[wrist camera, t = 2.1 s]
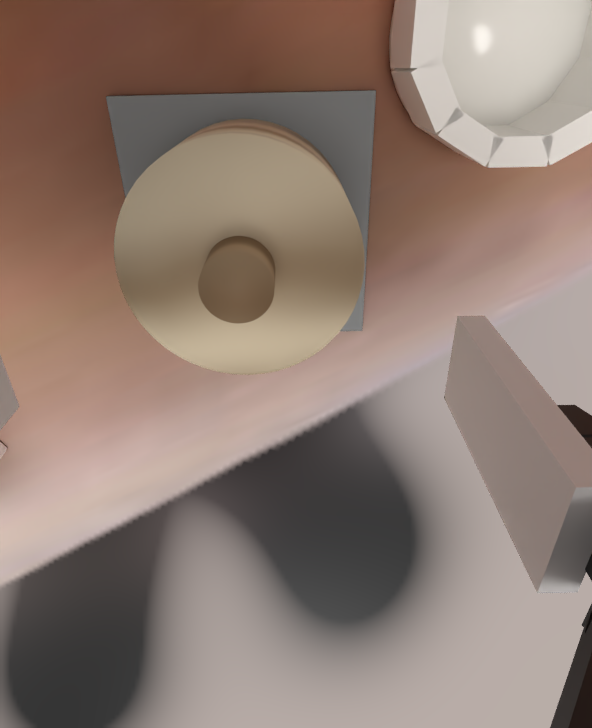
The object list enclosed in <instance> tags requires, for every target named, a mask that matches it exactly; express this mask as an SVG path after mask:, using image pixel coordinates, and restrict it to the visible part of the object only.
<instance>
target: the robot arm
mask: <svg viewBox="0 0 592 728" xmlns="http://www.w3.org/2000/svg"><path fill="white" fill-rule="evenodd" d="M444 398H445V400H446V402H447V405H448V407H449V409H450V411H451V413H452V415H453V417H454V419H455V421H456V423H457V426H458V428H459V430H460V432H461V434H462V436H463V438H464V440H465V442H466V445H467V447H468V449H469V451H470V453H471V455H472V457H473V459H474V461H475V463H476V466H477V468H478V470H479V472H480V474H481V476H482V478H483V480H484V482H485V484H486V487H487V488H488V491H489V493H490V495H491V497H492V499H493V501H494V503H495V505H496V507H497V510H498V512H499V514H500V516H501V518H502V520H503V522H504V524H505V526H506V528H507V530H508V533H509V535H510V537H511V539H512V541H513V543H514V545H515V547H516V549H517V552H518V554H519V556H520V558H521V560H522V562H523V564H524V566H525V568H526V570H527V572H528V574H529V577H530V579H531V581H532V583H533V585H534V587H535V589H536V591H537V593H563V592H564V593H566V592H578V589H579V587H580V585H581V582H582V580H583V578H584V575H585V573H586V572H587V574H588V575H589V577H590V579H591V580H592V416H591V415H590V414H588V413H587V412H585V411H583V410H582V409H580V408H579V407H577V406H576V405H556V403H555V402H554V401H553V400H552V399H551V397H550V396H549V395H548V394H547V392H546V391H545V390H544V389H543V387H542V386H541V385H540V384H539V382H538V381H537V380H536V379H535V377H534V376H533V375H532V374H531V373H530V371H529V370H528V369H527V368H526V366H525V365H524V364H523V363H522V361H521V360H520V359H519V358H518V356H517V355H516V354H515V353H514V351H513V350H512V349H511V348H510V347H509V345H508V344H507V343H506V342H505V340H504V339H503V338H502V337H501V335H500V334H499V333H498V332H497V330H496V329H495V328H494V327H493V326H492V324H491V323H490V322H489V321H488V319H487V318H486V317H485V316H457V322H456V328H455V334H454V340H453V346H452V353H451V359H450V365H449V371H448V377H447V384H446V390H445V396H444ZM18 408H19V404H18V401H17V399H16V396H15V393H14V391H13V388H12V385H11V382H10V380H9V377H8V374H7V372H6V369H5V366H4V364H3V361H2V358H1V355H0V430H1V429H2V427H3V426H4V425H5V424H6V423H7V421H8V420H9V419H10V418H11V416H12V415H13V414H14V413H15V412H16V410H17V409H18ZM582 626H583V627H584V629H583V632H582V635H581V638H580V641H579V644H578V647H577V650H576V653H575V656H574V659H573V662H572V665H571V668H570V671H569V674H568V677H567V679H566V682H565V685H564V688H563V691H562V695H561V697H560V700H559V703H558V706H557V709H556V712H555V715H554V718H553V721H552V724H551V727H550V728H592V604H591V606H590V608H589V611H588V613H587V615H586V617H585V619H584V621H583V623H582Z"/></svg>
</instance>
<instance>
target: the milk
mask: <svg viewBox="0 0 592 728" xmlns="http://www.w3.org/2000/svg"><path fill="white" fill-rule="evenodd" d="M6 450H7V447H6V446H5V445H4V444H2V443H1V442H0V459H1V457H2V456H3V455H4V453H5V452H6Z"/></svg>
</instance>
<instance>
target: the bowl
mask: <svg viewBox="0 0 592 728" xmlns="http://www.w3.org/2000/svg"><path fill="white" fill-rule="evenodd" d="M389 57H390V68H391V73H392V77H393V81H394V85H395V87H396V90H397V93H398V96H399V98H400V100H401V102H402V104H403V106H404V107H405V109H406V110H407V112H408V113H409V115H410V118H411V120H412V122H413V123H414V124H415V126H417V127H418V128H420V129H421V130H423V131H424V132H426V133H427V134H429V135H430V136H432V137H434V138H435V139H437V140H438V141H440V142H441V143H443V144H444V145H446V146H447V147H449V148H450V149H452V150H453V151H455V152H457V153H459V154H461V155H463V156H465V157H467V158H469V159H471V160H473V161H475V162H476V163H478V164H480V165H482V166H484V167H485V166H486V167H488V168H496V167H540V166H547V164H548V165H552V164H554V163H555V162H557V161H559V160H561V159H562V158H564V157H566V156H568V155H570V154H571V153H573V152H575V151H577V150H579V149H580V148H582V147H584V146H586V145H588V144H589V143H591V142H592V0H396V1H395V5H394V10H393V15H392V19H391V26H390V35H389Z"/></svg>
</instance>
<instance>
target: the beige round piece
mask: <svg viewBox="0 0 592 728" xmlns="http://www.w3.org/2000/svg"><path fill="white" fill-rule="evenodd" d="M114 259H115V266H116V273H117V276H118V280H119V283H120V287H121V290H122V292H123V294H124V297H125V299H126V301H127V303H128V305H129V307H130V308H131V310H132V312H133V313H134V315H135V317H136V318H137V319H138V321H139V322H140V323H141V324H142V326H143V327H144V328H145V329H146V330H147V331H148V332H149V334H150V335H151V336H152V337H153V338H154V339H155V340H157V341H158V342H159V343H160V344H161V345H163V346H164V347H165V348H166V349H168V350H169V351H171V352H172V353H174V354H175V355H177V356H179V357H180V358H182V359H184V360H186V361H188V362H190V363H192V364H195V365H198V366H200V367H203V368H206V369H209V370H213V371H217V372H222V373H229V374H240V375H253V374H264V373H269V372H274V371H279V370H282V369H285V368H288V367H291V366H293V365H296V364H298V363H300V362H302V361H304V360H306V359H308V358H309V357H311V356H313V355H314V354H316V353H317V352H319V351H320V350H321V349H322V348H324V347H325V346H326V345H327V344H328V343H329V342H330V341H331V340H332V339H333V338H334V337H335V336H336V335H337V334H338V333H339V332H340V330H341V329H342V328H343V326H344V325H345V324H346V322H347V321H348V319H349V317H350V315H351V314H352V312H353V310H354V308H355V305H356V303H357V300H358V298H359V295H360V291H361V287H362V283H363V276H364V268H365V261H364V246H363V239H362V234H361V230H360V227H359V224H358V220H357V218H356V216H355V213H354V211H353V209H352V207H351V204H350V202H349V200H348V198H347V196H346V194H345V191H344V189H343V187H342V185H341V183H340V181H339V179H338V176H337V174H336V173H335V171H334V169H333V168H332V166H331V165H330V163H329V162H328V160H327V159H326V158H325V157H324V156H323V154H322V153H321V152H320V151H319V150H318V149H317V148H316V147H315V146H314V145H313V144H312V143H310V142H309V141H308V140H306V139H305V138H304V137H302V136H301V135H299V134H298V133H296V132H294V131H292V130H290V129H288V128H286V127H284V126H281V125H278V124H275V123H272V122H268V121H263V120H258V119H233V120H226V121H222V122H218V123H214V124H212V125H210V126H207V127H205V128H202V129H200V130H199V131H197V132H195V133H194V134H192V135H190V136H189V137H188V138H186V139H185V140H183V141H182V142H181V143H179V144H178V145H176V146H175V147H174V148H172V149H171V150H169V151H168V152H167V153H165V154H164V155H162V156H161V157H160V158H159V159H157V160H156V161H155V162H154V163H153V164H151V165H150V166H149V167H148V168H147V169H146V170H145V171H144V172H143V173H142V175H141V176H140V177H139V178H138V179H137V180H136V182H135V183H134V185H133V186H132V188H131V190H130V191H129V193H128V194H127V196H126V199H125V201H124V203H123V205H122V207H121V210H120V213H119V217H118V220H117V224H116V230H115V238H114Z"/></svg>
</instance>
